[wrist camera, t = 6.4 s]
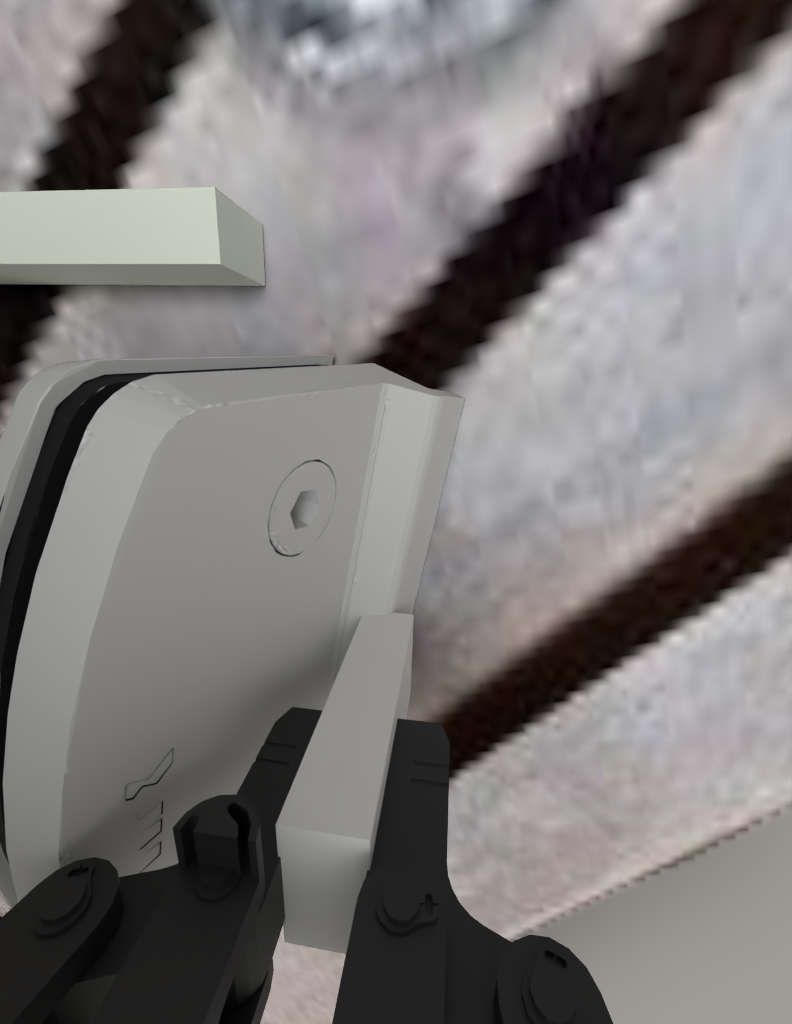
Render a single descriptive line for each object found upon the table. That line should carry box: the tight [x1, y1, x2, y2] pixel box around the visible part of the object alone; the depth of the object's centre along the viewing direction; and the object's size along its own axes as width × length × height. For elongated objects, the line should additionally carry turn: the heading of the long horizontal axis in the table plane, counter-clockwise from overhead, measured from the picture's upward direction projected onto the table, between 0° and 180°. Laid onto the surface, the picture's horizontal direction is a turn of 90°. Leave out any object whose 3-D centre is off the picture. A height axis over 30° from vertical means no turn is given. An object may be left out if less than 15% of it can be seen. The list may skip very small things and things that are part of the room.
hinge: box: [0, 355, 465, 909], centre depth 11 cm, size 17×5×10 cm, turn 169°
